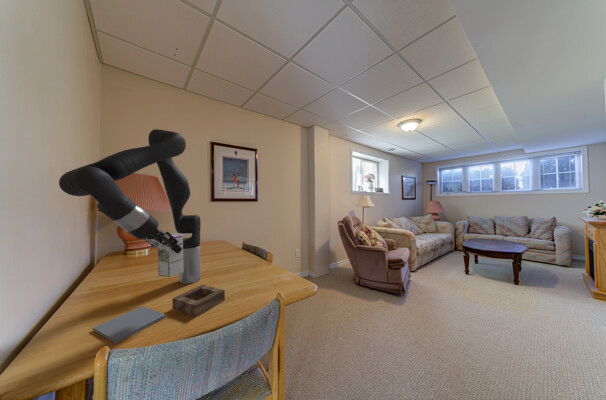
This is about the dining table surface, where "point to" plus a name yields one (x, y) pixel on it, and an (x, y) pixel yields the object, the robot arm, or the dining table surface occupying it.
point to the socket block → (195, 308)
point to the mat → (129, 324)
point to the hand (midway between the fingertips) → (174, 250)
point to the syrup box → (170, 258)
